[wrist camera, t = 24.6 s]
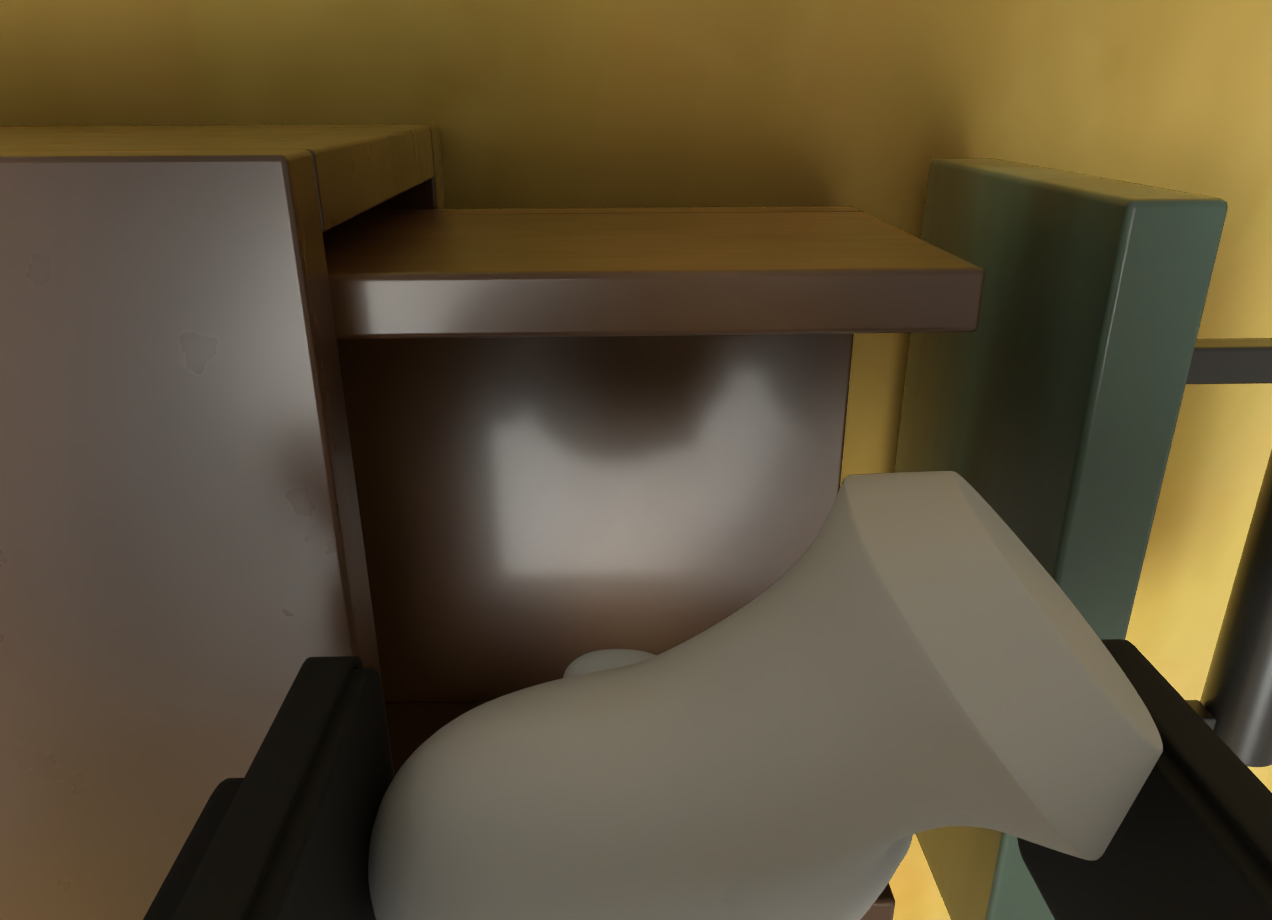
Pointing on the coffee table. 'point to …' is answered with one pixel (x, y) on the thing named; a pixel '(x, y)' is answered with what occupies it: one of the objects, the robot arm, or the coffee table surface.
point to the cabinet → (169, 476)
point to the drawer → (766, 425)
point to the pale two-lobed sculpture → (784, 739)
